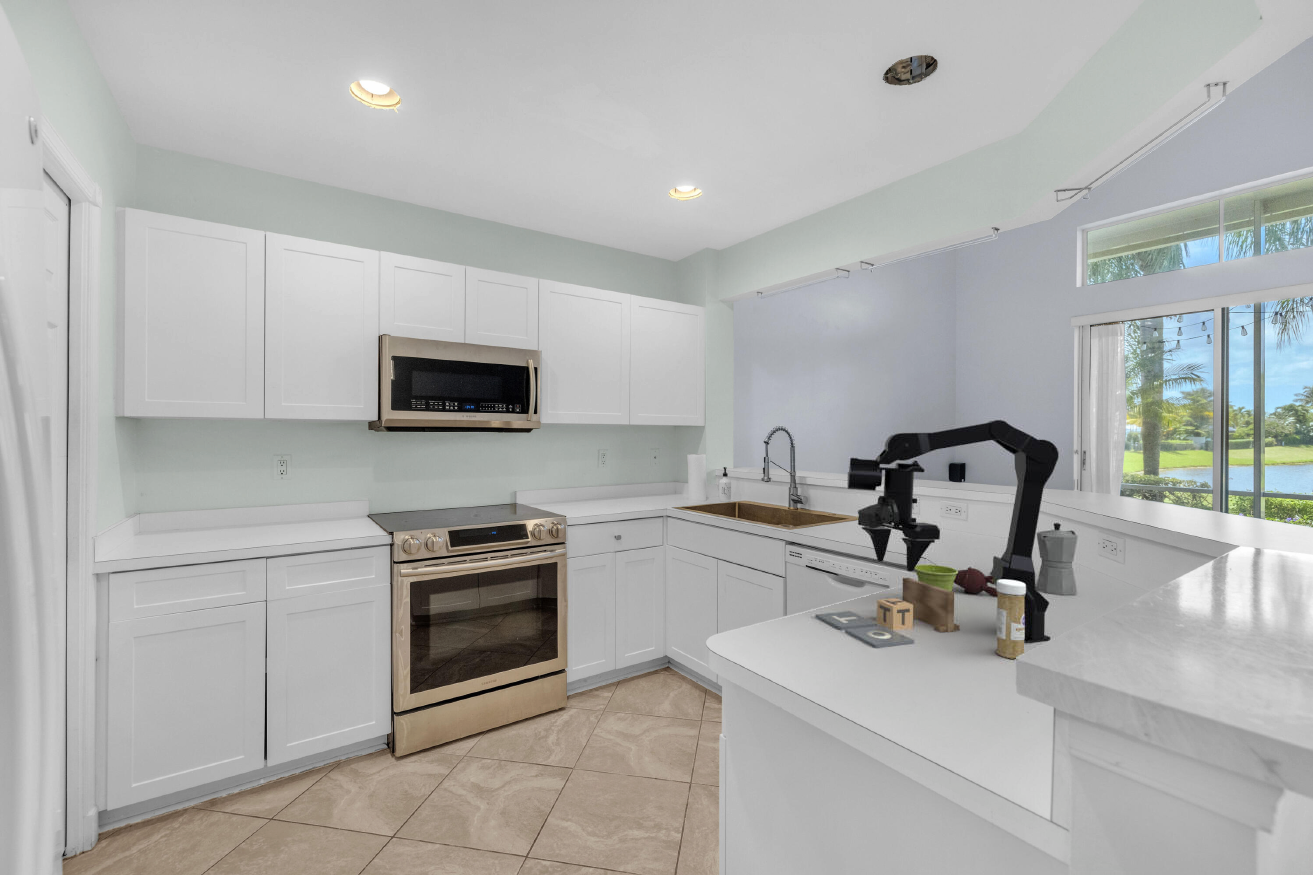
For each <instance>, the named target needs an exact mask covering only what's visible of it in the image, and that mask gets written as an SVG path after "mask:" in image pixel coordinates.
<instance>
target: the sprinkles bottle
mask: <svg viewBox="0 0 1313 875" xmlns="http://www.w3.org/2000/svg"><path fill="white" fill-rule="evenodd" d="M995 588H996V590H997V594H998V595H997V597H996V598H997V600H996V602H997V603H996V604H997V606H996V637H997V638H996V650H995V652H996V654H997V655H999V656H1001V657H1004V658H1005V659H1006V658H1007V659H1012V660H1016V659H1015V658H1016V657H1018V656H1019V655H1021V654H1023V653H1024V654H1025V642H1024V638H1025V614H1024V597H1025V595H1024V594H1026V585H1025V584H1024V583H1023V582H1020V581H1015V580H1006V579H1001V580H997V584H996V586H995Z"/></svg>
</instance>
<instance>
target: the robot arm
mask: <svg viewBox="0 0 1313 875" xmlns="http://www.w3.org/2000/svg"><path fill="white" fill-rule="evenodd" d="M988 441H993V442H995V443H996V444H997V445H999V447H1002V448H1003V449H1004V450H1005V451H1007V452H1009V453H1011V454H1012V455H1013V456H1014V471H1015V474H1016V480H1017V486H1016V492H1015V499H1014V502H1013V509H1012V515H1011V519H1010V527H1009V532H1008V537H1007V544H1006V548H1005V550H1004V552H1003V554H1002V556H1001V557H999V556H995V555H994V556H993V557H992V558H993V559H992V569H991V571H990V572H989V576H993V582H994V584H993V585H994V586H995V587H996V584H997V580H1001V579H1006V580H1015V581H1020V582H1023V583H1024V584H1025V585H1026V594H1024V595H1025V597H1024V614H1025V638H1024V643H1034V642H1042V641H1049V640H1051V636H1048V635H1046V634H1045V628H1046V627H1045V623H1046V622H1045V621H1046V620H1045V618H1046V615H1045V614H1046V612H1047V609H1048V607H1049V605H1050V602H1049V601H1048V600H1047V599H1046V598H1045V597H1044V596H1043V595H1042V593H1040V591H1039V590H1037V589H1036V571H1035V566H1034V562H1033V561H1034V560H1033V551H1034V544H1035V538H1036V535H1037V528H1038V522H1039V515H1040V510H1041V505H1042V498H1043V493H1044V488H1045V485H1046V483H1048V481H1049V479H1050V477H1051V476H1052V474H1053V473H1054V471H1055V468H1056V465H1057V463H1058V460H1059V457H1060V453H1059V452H1060V451H1059V448H1057V446H1056V445H1055V443H1053V442H1051V441H1049V440H1047V439H1037V438H1036V437H1034V436H1032V435H1030V434H1029V433H1027V432H1024V431H1022V430H1020V429H1018V428H1017V427H1014V426H1012V425H1011V424H1009V423H1008V422H1007V421H1006V420H1002V419H996V420H995V419H994V420H990V421H988V422H985V423H979V424H973V425H968V426H962V427H957V428H952V429H950V428H949V429H945V430H940V431H933V432H899V433H893V434H891V435H890V436H888V438H887V439H886V440H885V443H884V449H883V450H882V452H881V453H879V455H877V457H876V458H875V459H867V458H865V459H864V458H863V459H862V458H858V457H850V458H849V466H848V472H847V489H848V490H857V491H860V490H861V491H873V492H874V491H875V492H876V489H877V488H878V487H881V486H882V484H883V495H879V496H878V498H877V503H875V504H870V505H868V506H866V507H863V508H861V509H858V511H857V514H858V518H857V520H858V521H857V525H858V526H861V529H862V530H863V531H865V532H866V533H867V534H868V535H869V537H870V539H871V543H872V545H873V549H874V552H875V556H876V559H877V561H878V562H883V561H884V559H885V556H886V553H887V548H888V545H889V541H890V538H891V537H890V536H891V534H892V530H895V531H900V532H902V534H903V536H904V537H901V540H902V542H903V543H904V544H905V546H906V547H905V548H906V570H907V571H908V572H914V570H915V569H914V568H915V567H916V566H917V565H918V564H919V561H920V560H921V558H922V557H923V555H924V553H925V552H926V551H927V549H928V548H929V546H930V545H931V544H933V543H934V544H935V541H937V540H941V538H940V537H941V528H939V526H938V525H937V524H932V523H929V522H928V523H927V522H917V518H916V517H913V504H918V498H915V497H914V481H915V480H914V479H915V478H914V477H915V473H925V468H923V466H921V464H920V463H919V462H918V460H913V461H912V462H911V463H905V462H904V463H902V462H901V463H900V462H897V461H908V460H911V459H914V458H918V457H920V456H923V455H926V454H928V453H930V452H933V451H936V450H942V449H946V448H954V447H958V446H965V445H969V444H977V443H983V442H988ZM895 462H896V463H895ZM893 463H895V466H894V467H886V466H885V467H883V466H881V465H888V466H889V465H891V464H893ZM883 471H884V477H883ZM883 478H884V479H883ZM882 480H884V481H882ZM882 482H883V483H882Z"/></svg>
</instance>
